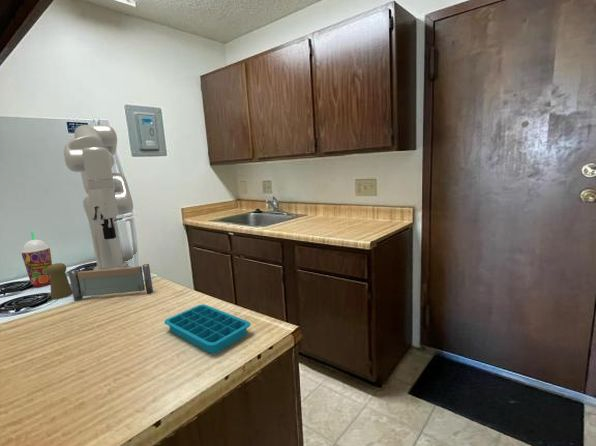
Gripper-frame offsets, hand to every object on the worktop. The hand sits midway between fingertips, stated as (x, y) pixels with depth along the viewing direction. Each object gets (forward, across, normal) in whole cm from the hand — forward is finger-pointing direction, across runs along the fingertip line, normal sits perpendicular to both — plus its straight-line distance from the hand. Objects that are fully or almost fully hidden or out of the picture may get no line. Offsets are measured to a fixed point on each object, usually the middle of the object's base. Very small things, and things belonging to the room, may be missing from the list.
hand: (110, 238), depth 109 cm
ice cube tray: (+19, +40, +38) cm, 58 cm away
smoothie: (+17, -10, -31) cm, 37 cm away
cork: (+17, +4, -16) cm, 24 cm away
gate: (+17, +9, +3) cm, 19 cm away
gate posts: (+18, +9, +3) cm, 20 cm away
